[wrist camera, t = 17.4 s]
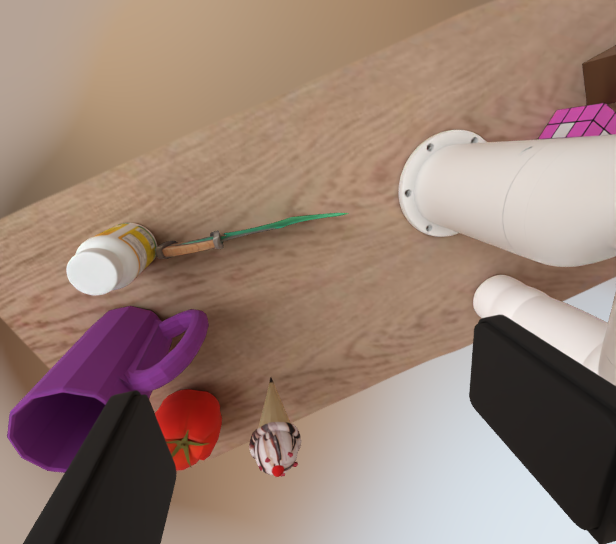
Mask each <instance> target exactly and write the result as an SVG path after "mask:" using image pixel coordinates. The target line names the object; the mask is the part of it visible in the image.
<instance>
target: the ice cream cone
mask: <svg viewBox="0 0 616 544" xmlns="http://www.w3.org/2000/svg"><path fill="white" fill-rule="evenodd" d="M249 446H250V447H249V448H250V452H251V455H252V456H253V458H254V459H256V462H257V464H258V466H259V469H260V470H262V471H263V472H265V473H267V474H269V475H274V476H276V477H279V476H285V472H287V471H288V470H289V469H290V468H291V467H292V466H293V467H296V466H297V465H298V463H297V462H295V460H296V458H297V453H298V451H299V449H300V446H301V437H300V434H299V431H298V429H297V428H296V426H295V425H294V424H292V423H290V421H289V418H288V416H287V414H286V411H285V409H284V406H283V404H282V402H281V399H280V397H279V395H278V392H277V390H276V387H275V385H274V383H273V380H272V378H270V382H269V386H268V391H267V395H266V399H265V403H264V407H263V411H262V415H261V420H260V424H259V428H258V429H256V430H255V431H254V432H253V434H252V436H251V439H250V444H249Z"/></svg>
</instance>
